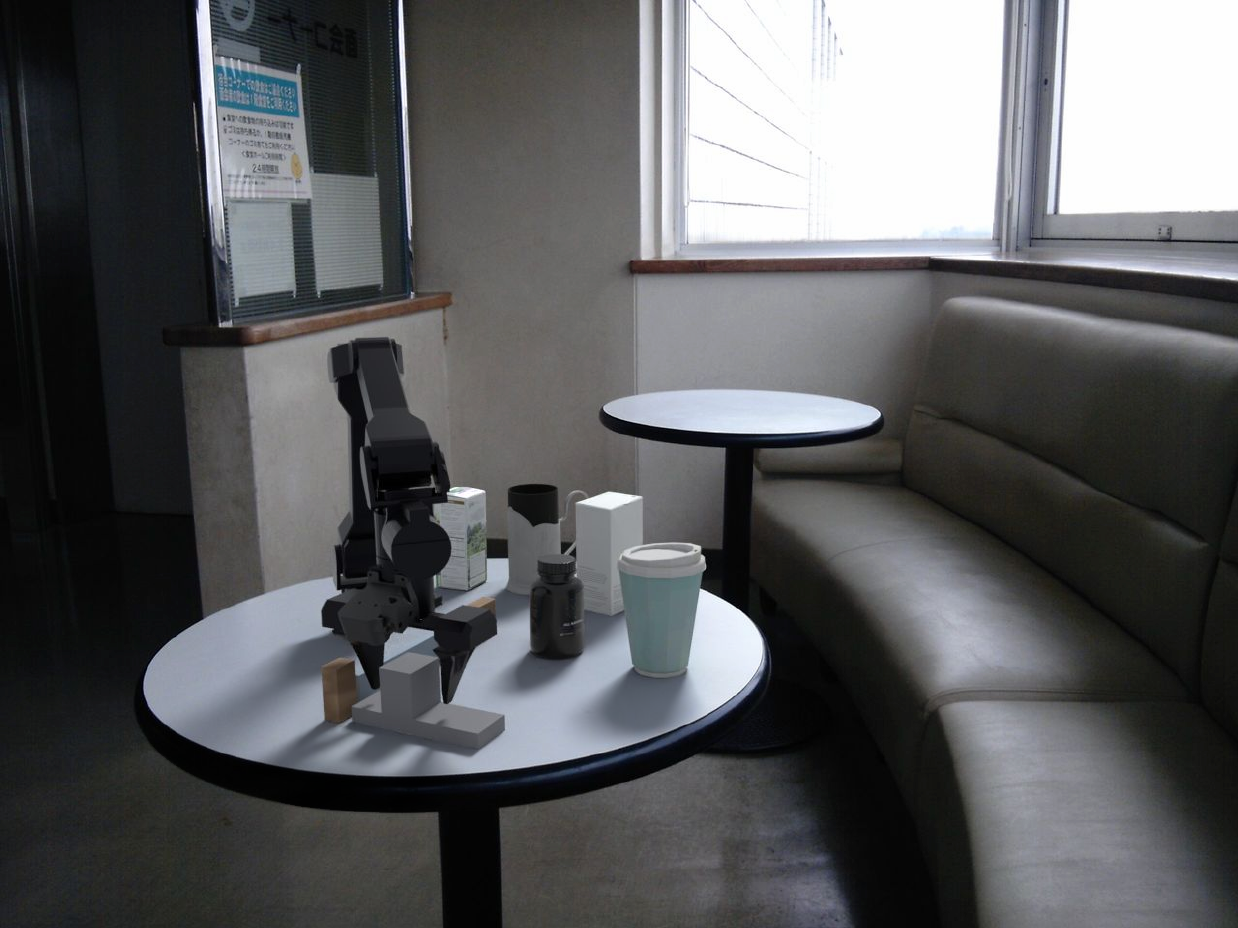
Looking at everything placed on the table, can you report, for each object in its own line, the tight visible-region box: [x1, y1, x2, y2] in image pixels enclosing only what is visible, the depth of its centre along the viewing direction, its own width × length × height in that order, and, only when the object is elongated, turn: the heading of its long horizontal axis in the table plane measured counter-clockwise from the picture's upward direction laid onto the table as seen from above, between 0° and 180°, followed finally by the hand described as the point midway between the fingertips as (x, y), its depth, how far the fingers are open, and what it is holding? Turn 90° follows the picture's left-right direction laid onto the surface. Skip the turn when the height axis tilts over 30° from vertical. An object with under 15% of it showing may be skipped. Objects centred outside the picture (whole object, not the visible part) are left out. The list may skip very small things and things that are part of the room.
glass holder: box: [505, 483, 590, 596], centre depth 162 cm, size 9×14×15 cm, turn 123°
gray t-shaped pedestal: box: [351, 652, 506, 750], centre depth 113 cm, size 16×5×7 cm, turn 64°
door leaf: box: [355, 631, 440, 703], centre depth 126 cm, size 1×19×4 cm, turn 154°
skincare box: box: [574, 491, 644, 617], centre depth 151 cm, size 8×7×16 cm
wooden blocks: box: [320, 596, 497, 724], centre depth 128 cm, size 2×31×6 cm, turn 154°
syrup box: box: [433, 486, 488, 591], centre depth 162 cm, size 6×6×14 cm
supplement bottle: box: [529, 553, 585, 660], centre depth 134 cm, size 7×7×12 cm
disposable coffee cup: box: [617, 541, 707, 679], centre depth 127 cm, size 11×11×15 cm
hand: (411, 695), depth 114 cm, fingers open, 9 cm apart
